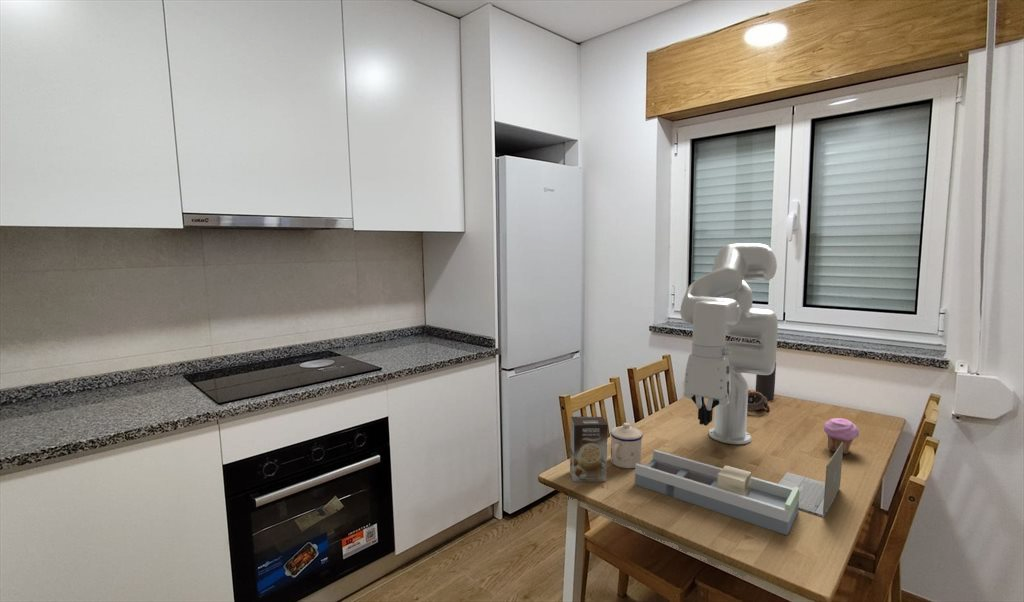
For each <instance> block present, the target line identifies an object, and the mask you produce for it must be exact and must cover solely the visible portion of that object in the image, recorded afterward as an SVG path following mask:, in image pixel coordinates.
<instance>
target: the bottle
mask: <svg viewBox="0 0 1024 602" xmlns="http://www.w3.org/2000/svg"><path fill="white" fill-rule="evenodd" d="M776 369H777V362H776V363H775V368H774V371H773V373H772V374H770V375H757V374H755V391H754V392H759V393H761V394H762V395H763V396H764V397H766V398H767V401H772V400H774V399H775V386H776V373H777V372H776ZM755 397H757V396H755Z"/></svg>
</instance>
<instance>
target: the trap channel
mask: <svg viewBox="0 0 1024 602" xmlns="http://www.w3.org/2000/svg"><path fill="white" fill-rule="evenodd" d="M634 469H635V470H634V471H635V472H634V485H636V486H639V487H642V488H645V489H647V490H650V491H654V492H657V493H659V494H662V495H666V496H668V497H671V498H674V499H678V500H681V501H682V502H683V501H684V502H687V503H689V504H692V505H695V506H698V507H701V508H705V509H706V510H707V509H708V510H711V511H713V512H716V513H720V514H723V515H725V516H729V517H731V518H734V519H737V520H740V521H743V522H746V523H749V524H752V525H755V526H759V527H761V528H764V529H766V530H767V529H768V530H770V531H773V532H777V533H780V534H782V535H786V536H788V534H789V532H790V530H791V529H792V526H793V524H794V522H795V519H796V517H797V515H798V513H799V509H798V507H799V493H800V490H799V488H798V487H795V486H794V488H790V487H787V486H783V485H780V484H778V483H776V482H772V481H769V480H766V479H765V480H764V479H762V478H759V477H758V478H757V477H754V476H751V486H750V493H749V494H748V495H747V497H746V496H743V495H739V494H736V493H733V492H730V491H726V490H723V489H720V488H717V483H718V473H719V472H720V471H721V470H722V469H723V468H722V467H718V466H715V465H711V464H708V463H703V462H701V461H697V460H693V459H690V458H687V457H683V456H679V455H676V454H672V453H669V452H666V451H665V452H664V451H661V450H657V449H653V451H652V459H651V460H650V461H649V462H648V463H647V464H645V465H643V464H642V463H641V464H638V463H637V464H636V465H635V468H634Z"/></svg>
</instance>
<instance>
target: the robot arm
mask: <svg viewBox="0 0 1024 602" xmlns="http://www.w3.org/2000/svg"><path fill="white" fill-rule="evenodd" d="M777 265H778V264H777V259H776V256H775V253H774V251H773V249H772V248H771V247H770V246H769V245H766V244H763V243H730V244H726V245H724V246H723V247H720V249H719V251H718V252H717V255H716V257H715V258H714V264H713V267H712V270H711V271H710V272H709V273H707V274H704V275H703V276H701V277H699V278H698V279H695V281H693V282H692V283H691V284H689V286H688V287H687V289H686V291H685V293H684V296H683V298H682V301H681V305H680V317H681V320H682V321H683V322H684V323H686V324H687V325H691V326H692V338H691V339H692V340H691V341H692V344H691V353H690V354H689V355H688V359H687V362H686V367H685V373H684V383H683V389H684V392H683V396H684V397H685V398H687V399H689V400H692V402H693V403H694V404H695V405H696V408H697V409H698V411H697V420H698V421H699V425H700V426H701V425H703V426H705V427H707V426H708V425H709V424H710V423H711V422H712V421H713V412H714V424H713V427H711V428H710V429H709V430H708V435H709V437H710V438H712V439H713V440H715V441H717V442H720V443H724V444H729V445H745V444H749V443H750V442H751V441H752V435H751V434H750V432H748V431H747V422H748V417H747V416H748V410H747V405H748V391H749V385H748V381H747V380H746V378H745V377H744V376H743V374H749V375H750V374H751V375H756V374H757V375H770V374H772V373H773V371H774V368H775V363H776V364H777V362H776V360H777V348H778V347H777V345H778V329H779V328H778V327H779V324H778V322H779V321H778V317H777V315H776V313H775V312H774V311H772V310H770V309H765V308H753V298H754V294H753V290H752V289H751V286H750V285H749V284H748V283H747V282H746V281H770V280H773V278H774V277H775V275H776V272H777V269H778V268H777V267H778V266H777ZM726 336H727V337H732V338H739V339H750V340H752V339H753V340H757V341H759V342H760V343H752V342H746V341H745V342H744V341H734V340H733V341H732V340H727V341H726ZM705 398H706V399H707V400H706V399H705ZM706 401H707V402H706ZM713 409H714V410H713Z"/></svg>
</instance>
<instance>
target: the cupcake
mask: <svg viewBox="0 0 1024 602" xmlns="http://www.w3.org/2000/svg"><path fill="white" fill-rule="evenodd" d="M823 431H824V433H825V434H826V435H827V448H828V449H829V450H830V451H832V452H836V450H837V449H838V447H839V446H840V444H841V443H842V442H843V455H844V454H845V455H847V454H848V453H849V450H850V447H851V445H852V443H853V441H854V439H857V438H858V437H859V434H860V433H859V432H860V431H859V429H858V426H857V425H856V424H854V423H853V422H852V421H850V420H848V419H846V418H842V417H841V418H840V417H839V418H838V417H836V418H834V417H833V418H830V419H829V420H827V421H826V422H824V424H823Z"/></svg>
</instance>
